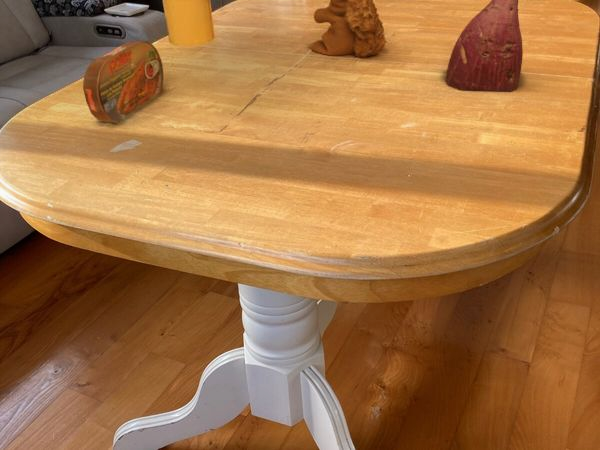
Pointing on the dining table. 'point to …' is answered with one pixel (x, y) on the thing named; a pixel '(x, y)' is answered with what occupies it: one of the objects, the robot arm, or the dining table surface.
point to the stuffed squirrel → (350, 29)
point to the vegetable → (488, 51)
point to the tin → (123, 80)
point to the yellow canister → (189, 22)
